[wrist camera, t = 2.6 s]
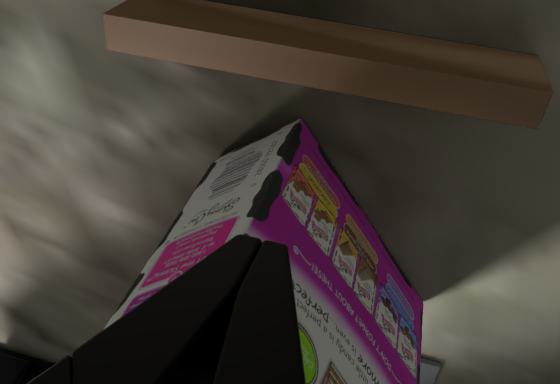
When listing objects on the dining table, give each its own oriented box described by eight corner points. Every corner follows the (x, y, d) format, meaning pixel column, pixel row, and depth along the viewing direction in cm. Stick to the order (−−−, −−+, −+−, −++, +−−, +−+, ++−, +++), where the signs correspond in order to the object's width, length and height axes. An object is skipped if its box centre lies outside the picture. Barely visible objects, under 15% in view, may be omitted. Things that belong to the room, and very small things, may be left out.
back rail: (524, 88, 18) (537, 129, 16) (146, 22, 20) (106, 49, 18) (537, 55, 17) (553, 92, 15) (144, -10, 20) (102, 14, 17)
